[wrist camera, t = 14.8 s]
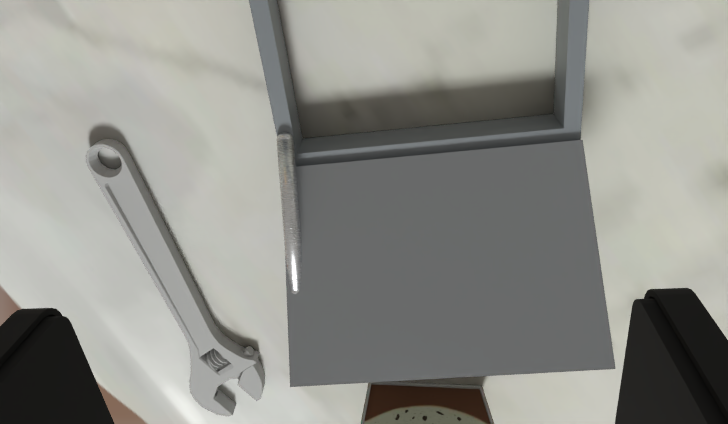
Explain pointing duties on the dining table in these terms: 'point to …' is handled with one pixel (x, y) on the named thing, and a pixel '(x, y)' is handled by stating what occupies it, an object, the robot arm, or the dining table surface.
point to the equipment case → (440, 237)
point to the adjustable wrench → (176, 285)
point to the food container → (425, 404)
